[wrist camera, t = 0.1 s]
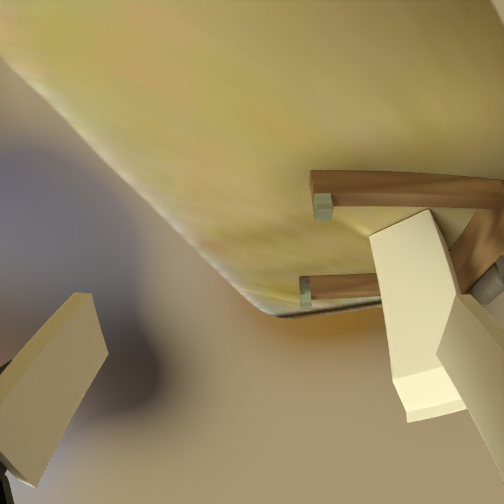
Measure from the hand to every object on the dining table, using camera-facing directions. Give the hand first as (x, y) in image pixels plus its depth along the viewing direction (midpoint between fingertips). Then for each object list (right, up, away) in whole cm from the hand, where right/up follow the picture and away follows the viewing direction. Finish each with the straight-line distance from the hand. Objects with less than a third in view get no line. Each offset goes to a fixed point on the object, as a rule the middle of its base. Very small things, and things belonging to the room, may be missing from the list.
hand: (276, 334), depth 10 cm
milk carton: (+16, +5, +21) cm, 27 cm away
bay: (+14, +4, +21) cm, 26 cm away
